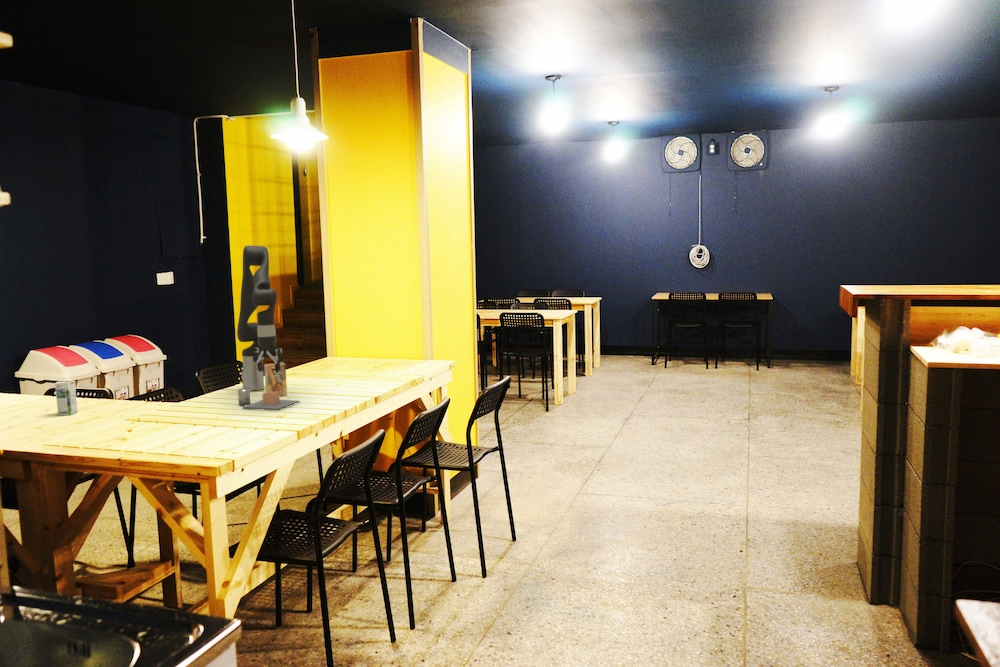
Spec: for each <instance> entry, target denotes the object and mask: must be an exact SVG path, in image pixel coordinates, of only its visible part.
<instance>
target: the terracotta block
mask: <svg viewBox="0 0 1000 667" xmlns="http://www.w3.org/2000/svg"><path fill="white" fill-rule="evenodd" d="M262 400H263V405H275V404H278V403H280V400H281V399H280V396H279V392H276V391H269V392H266V391H265V392H263V393H262Z"/></svg>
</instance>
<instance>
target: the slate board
mask: <svg viewBox="0 0 1000 667" xmlns="http://www.w3.org/2000/svg"><path fill="white" fill-rule="evenodd" d="M298 402H299V403H300V400H295V399H294V400H293V399H292V400H290V399H289V400H288V399H280V403H278V404H275V405H263V399H262V400H258V401H255V402H252V403H251V404H250V405H247V406H242V410H252V409H262V410H261V411H274V410H279V411H281V410H280V409H282V408H285V407H287V406H290V405H293V404H295V403H298ZM299 403H298V404H299ZM295 405H296V404H295ZM293 406H294V405H293ZM290 407H291V406H290ZM287 408H288V407H287ZM263 409H264V410H263ZM285 409H286V408H285ZM282 410H283V409H282Z"/></svg>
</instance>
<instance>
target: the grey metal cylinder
mask: <svg viewBox="0 0 1000 667" xmlns="http://www.w3.org/2000/svg"><path fill="white" fill-rule="evenodd" d="M237 397H238V400H237V401H238V406H239V405H240V406H239V407H244V406H245V405H250V404H252V403H251V391H250V389H249V388H243V387H242V388H238V389H237Z"/></svg>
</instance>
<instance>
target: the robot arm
mask: <svg viewBox="0 0 1000 667" xmlns="http://www.w3.org/2000/svg"><path fill="white" fill-rule="evenodd" d="M269 258H270V256H269V250H268V248H267V247H266V246H263V245H262V246H261V245H245V246H244V248H243V249H242V278H241V279H242V280H241V288H240V289H241V290H240V304H239V305H240V306H239V316H238V322H237V327H236V328H237V329H236V333H237V334H236V336H237V339H238V341H239V342H241V343H247V342H248V343H249V342H252V344H251V345H249V346H248V347H246V348H243V349H242V350H241V355H242V356H241V357H242V370H241V380H242V383H241V384H242V389H243V388H249V389H250V392H254V391H253V390H258V391H262V390H261V389H263V390H265V376H264V364H263V362H264V361H263V360H264V359H271V360H272V361H273V362H274V364H275V372H279V371H280V363H284V362H285V358H284V349H283V348H282V347H279V348H277V335H276V334H277V333H276V326H275V308H276V304H277V300H278V294H277V291H276V290H275V289H273V288H271V286H272V285H271V280H270V275H269V274H270V262H269V261H270V259H269ZM251 266H252V267H259V268H258V269H257V270H255V272H254V274H253V272H252V270H251ZM259 306H260V307H262V306H263V307H264V306H268V308H266V309H264V310H260V311H258V312H257V314H256V322H249V319H250V317H251V316H252V315H253V313H254V312H255V311H256V310H257V309H258V307H259Z"/></svg>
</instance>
